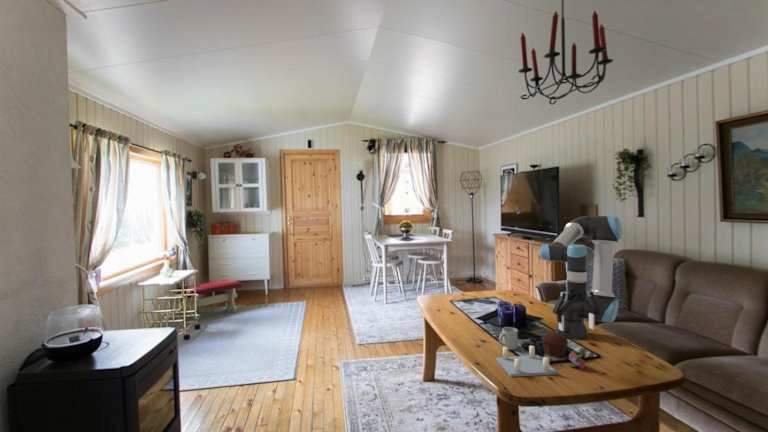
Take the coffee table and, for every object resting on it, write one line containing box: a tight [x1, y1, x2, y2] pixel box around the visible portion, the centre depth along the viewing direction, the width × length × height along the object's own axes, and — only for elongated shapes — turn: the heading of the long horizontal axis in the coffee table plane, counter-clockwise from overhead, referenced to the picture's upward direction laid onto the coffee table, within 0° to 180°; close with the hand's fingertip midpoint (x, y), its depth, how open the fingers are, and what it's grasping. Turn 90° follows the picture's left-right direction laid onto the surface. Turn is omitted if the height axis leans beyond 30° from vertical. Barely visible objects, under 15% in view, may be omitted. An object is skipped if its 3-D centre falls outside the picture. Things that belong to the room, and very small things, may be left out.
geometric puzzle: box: [568, 351, 587, 371], centre depth 157 cm, size 7×7×8 cm
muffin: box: [541, 330, 569, 358], centre depth 172 cm, size 12×11×10 cm
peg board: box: [495, 345, 558, 378], centre depth 158 cm, size 20×16×6 cm
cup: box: [498, 326, 519, 351], centre depth 179 cm, size 7×10×9 cm
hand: (576, 329), depth 157 cm, fingers open, 13 cm apart
